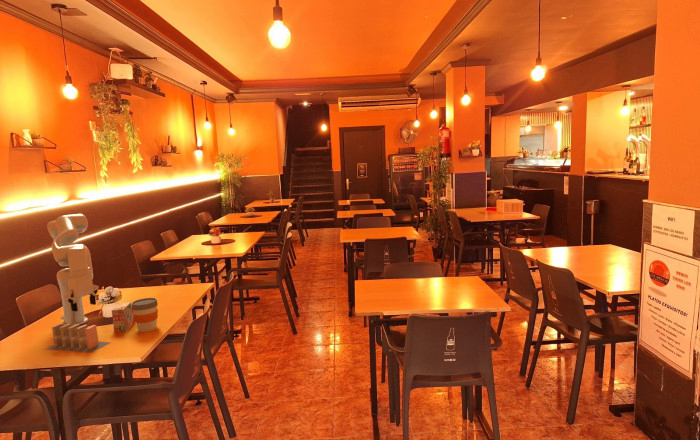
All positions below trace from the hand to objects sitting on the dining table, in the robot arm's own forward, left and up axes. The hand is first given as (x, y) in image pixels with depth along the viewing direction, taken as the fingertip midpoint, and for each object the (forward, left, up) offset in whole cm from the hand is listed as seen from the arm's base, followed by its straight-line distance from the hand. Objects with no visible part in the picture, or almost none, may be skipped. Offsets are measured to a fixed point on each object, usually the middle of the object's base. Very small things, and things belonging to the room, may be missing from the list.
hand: (84, 307), depth 221 cm
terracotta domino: (+2, 0, -20) cm, 20 cm away
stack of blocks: (-4, +30, -20) cm, 37 cm away
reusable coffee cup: (+12, +26, -20) cm, 35 cm away
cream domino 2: (-13, 0, -20) cm, 23 cm away
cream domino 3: (-8, 0, -20) cm, 21 cm away
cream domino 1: (-18, 0, -20) cm, 26 cm away
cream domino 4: (-3, 0, -20) cm, 20 cm away
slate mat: (-7, 0, -20) cm, 21 cm away
